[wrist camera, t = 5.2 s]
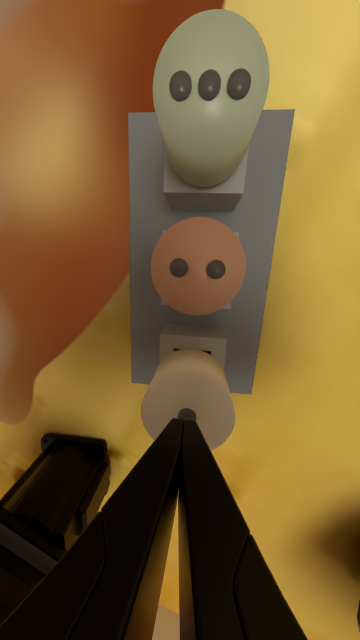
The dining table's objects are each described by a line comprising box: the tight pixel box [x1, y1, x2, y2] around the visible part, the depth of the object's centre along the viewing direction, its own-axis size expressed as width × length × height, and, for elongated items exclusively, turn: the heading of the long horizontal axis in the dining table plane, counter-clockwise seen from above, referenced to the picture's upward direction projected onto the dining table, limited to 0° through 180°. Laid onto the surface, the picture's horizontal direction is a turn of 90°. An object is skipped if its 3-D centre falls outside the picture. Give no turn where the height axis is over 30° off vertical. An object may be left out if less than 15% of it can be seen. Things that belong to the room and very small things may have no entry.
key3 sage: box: [153, 9, 269, 187], centre depth 8 cm, size 4×4×5 cm
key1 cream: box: [141, 349, 235, 450], centre depth 10 cm, size 4×4×5 cm
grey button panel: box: [128, 109, 295, 394], centre depth 12 cm, size 9×17×4 cm, turn 177°
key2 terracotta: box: [151, 217, 246, 315], centre depth 10 cm, size 4×4×5 cm
